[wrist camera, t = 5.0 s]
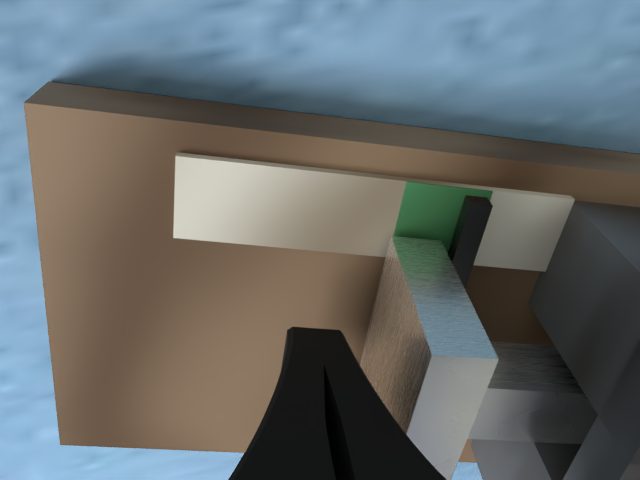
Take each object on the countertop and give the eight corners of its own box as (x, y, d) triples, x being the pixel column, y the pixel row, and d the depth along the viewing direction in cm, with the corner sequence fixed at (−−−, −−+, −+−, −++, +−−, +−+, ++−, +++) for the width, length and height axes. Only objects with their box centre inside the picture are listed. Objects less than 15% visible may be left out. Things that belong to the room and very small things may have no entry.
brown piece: (834, 178, 16) (1144, 336, 10) (668, 435, 21) (814, 637, 15) (48, 82, 13) (-121, 225, 7) (75, 405, 18) (-14, 637, 12)
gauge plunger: (790, 226, 14) (958, 334, 11) (658, 436, 18) (751, 567, 14) (403, 184, 13) (452, 292, 9) (346, 420, 16) (365, 560, 13)
